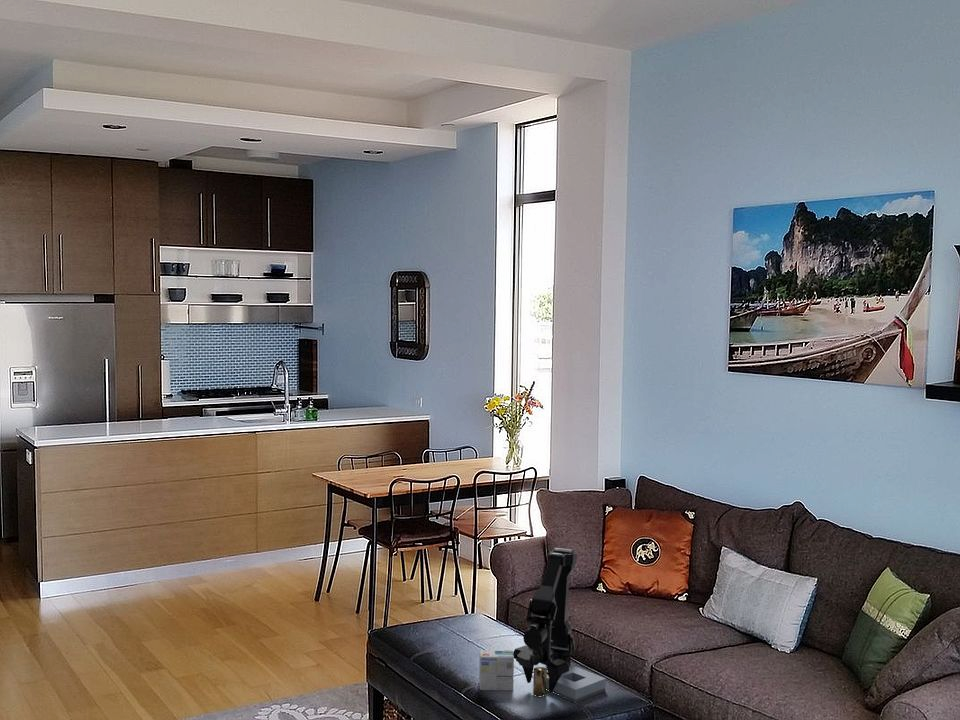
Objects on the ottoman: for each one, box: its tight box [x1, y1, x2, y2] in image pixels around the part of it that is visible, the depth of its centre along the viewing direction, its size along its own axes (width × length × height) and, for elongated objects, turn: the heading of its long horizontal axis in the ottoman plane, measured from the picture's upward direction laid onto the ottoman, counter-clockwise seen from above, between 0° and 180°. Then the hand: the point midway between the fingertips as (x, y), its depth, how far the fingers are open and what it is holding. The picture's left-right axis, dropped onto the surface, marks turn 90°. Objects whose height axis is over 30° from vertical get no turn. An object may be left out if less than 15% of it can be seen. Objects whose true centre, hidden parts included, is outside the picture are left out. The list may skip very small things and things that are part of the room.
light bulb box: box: [478, 649, 515, 691], centre depth 321 cm, size 11×7×11 cm, turn 92°
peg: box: [532, 666, 548, 696], centre depth 316 cm, size 4×4×8 cm
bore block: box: [546, 664, 607, 703], centre depth 320 cm, size 14×14×4 cm
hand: (539, 687), depth 316 cm, fingers open, 9 cm apart
